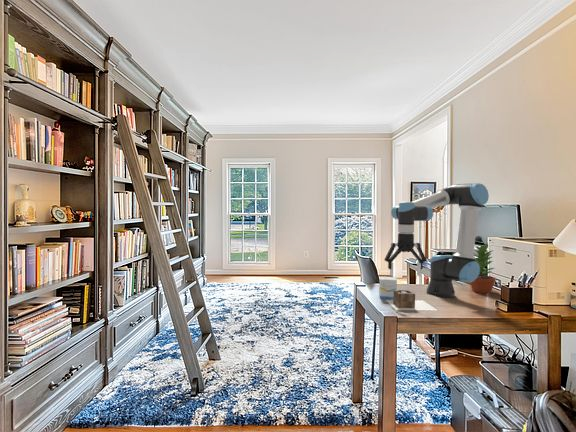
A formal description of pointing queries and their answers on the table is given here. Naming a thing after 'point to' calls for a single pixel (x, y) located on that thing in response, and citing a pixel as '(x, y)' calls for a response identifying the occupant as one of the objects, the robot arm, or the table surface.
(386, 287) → the ink box
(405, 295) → the wooden cubby shelf
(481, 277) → the potted plant
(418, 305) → the hub board
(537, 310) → the table surface
